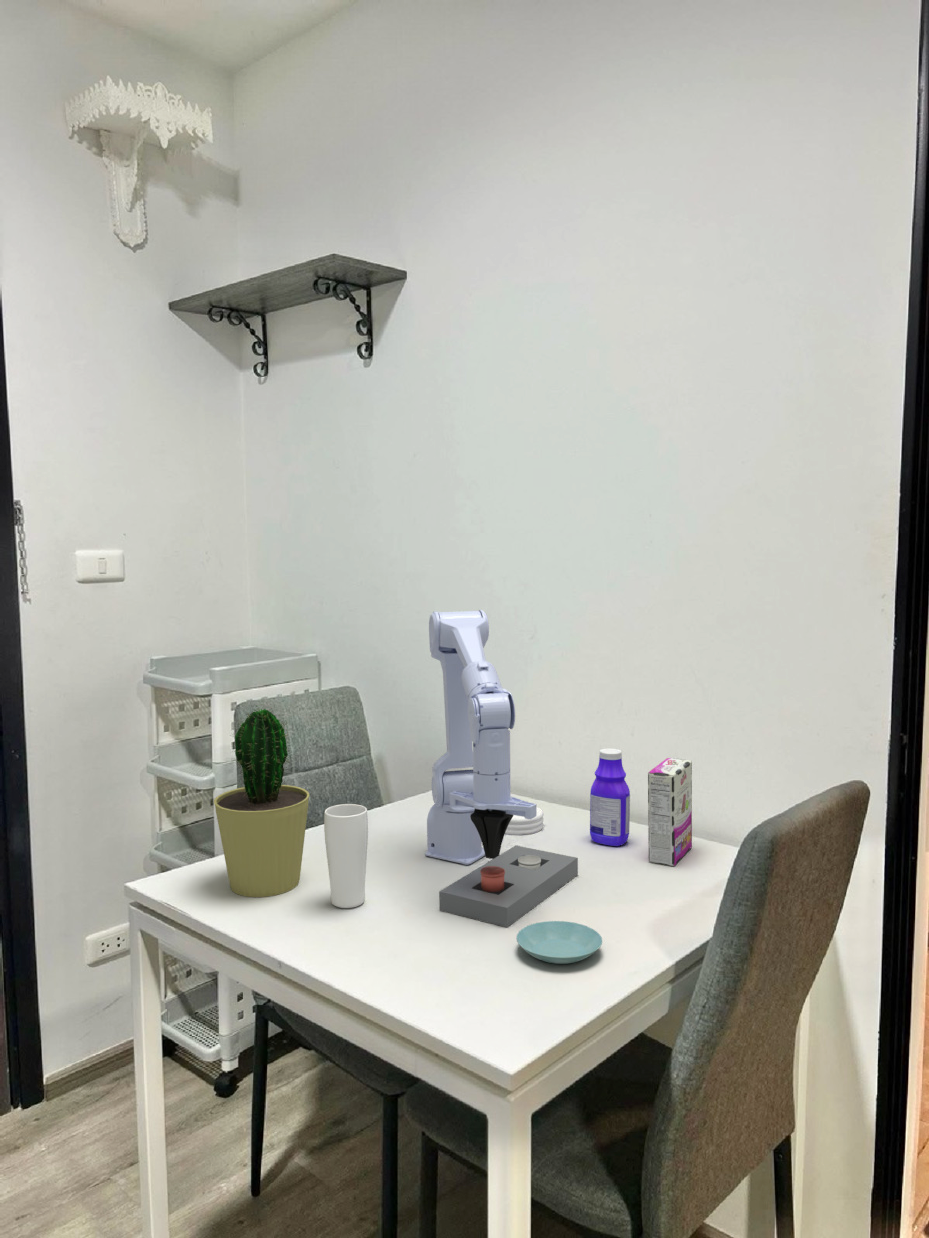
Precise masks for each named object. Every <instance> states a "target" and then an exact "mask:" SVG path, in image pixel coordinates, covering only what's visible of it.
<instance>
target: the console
mask: <svg viewBox="0 0 929 1238" xmlns="http://www.w3.org/2000/svg"><path fill="white" fill-rule="evenodd" d="M527 855H531V856H537V857H539V858H540V859H541V863H540V867H539V868H538V869H536V870H534V869H529V868H525V867H520V866H519V863H518V858H519V857H521V856H527ZM578 859H579V858H578V857H577V856H576V857H575V856H570V855H566V854H560V853H555V852H550V851H545V850H542V849H541V850H540V849H536V848H535V849H534V848H531V847H526V846H522V845H521V846H520V845H514V846H512V847H510V848H509V849H507V850H505V851H504V852H502V853H501V854H499V856H497V857H496V858H494V859H490V860H489V861H487V862H486V863H484V864H482V865H481V866H479V867H478V868H476V869H474V870H472V871H471V872H469V873H468V874H465V875H464V876H462V877H461V878H459V879H457V880H456V881H454V882H453V883H451V884H449V885H447V886H445V887H444V888H443V889H440V891H439V892H438V894H439V895H438V897H439V901H438V903H439V904H438V905H439V911H441V912H446V913H449V914H453V915H457V916H461V917H465V918H468V919H473V920H476V921H480V922H483V923H488V924H492V925H496V926H500V927H504V928H509V927H510V926H512V925H513V924H514V923H515V922H516V921H518V920H520V919H521V918H522V917H524V916H525V915H526V914H527V913H529V912H530V911H532V910H533V909H534V908H535V907H537V906H538V905H540V904H541V903H542V902H544V901H545V900H546V899H547V898H549V897H550V896H553V894H554V893H555V892H557V891H558V890H560V889H561V888H562V887H564V886H565V885H566V884H567V883H569V882H570V881H572V880H573V879H574V878H576V877H577V876H579V871H578V869H579V860H578ZM488 866H497V867H501V868H503V869H504V870H505V874H504V889H503V890H501V891H498V892H488V891H484V890H482V888H481V874H480V870H481V869H482V868H484V867H488Z"/></svg>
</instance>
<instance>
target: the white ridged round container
mask: <svg viewBox="0 0 929 1238" xmlns="http://www.w3.org/2000/svg"><path fill="white" fill-rule="evenodd" d="M543 828H544V811H543V810H542V809H541V808H540V807H538V806H537V816H536V817H534V818H532V819H525V817H522V816H517V815H513V817H512V819H511V821H510V823H509V825H508V827H507V829H506V832H505V834H504V835H511V836H512V835H513V836H525V835H533V834H536V833H538V832H540V831H541V830H543Z"/></svg>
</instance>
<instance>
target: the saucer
mask: <svg viewBox="0 0 929 1238" xmlns="http://www.w3.org/2000/svg"><path fill="white" fill-rule="evenodd" d="M516 942H517V943H518V945H519V946H520V947H521V949H523V950H524V952H526V953H528V954H529V955H530V956H532V957H533V958H535V959H537V960H540V961H542V962H544V963H545V962H546V963H548V964H554V965H556V964H557V965H568V964H573V963H578V962H581V961H583V960H586V959H587V958H588V957H590V956H592V955H593V954H594V953H595V952H597V951H598V950H599V948H600V947H601V946H602V945H603V938H602V936H601V934H600V933H599V932H598V931H597V930H596V929H594V928H591V927H590V926H588V925H584V924H582V923H577V922H572V921H563V920H549V921H540V922H535V923H532V924H529V925H526V926H525V927H523V928H521V929H520V930H519V931H518V933H517V934H516Z"/></svg>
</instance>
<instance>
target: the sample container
mask: <svg viewBox="0 0 929 1238" xmlns="http://www.w3.org/2000/svg"><path fill="white" fill-rule="evenodd" d="M518 863H519V866H520V867H525V868H529V869H534V870H536V869H538V868H539V867H540V863H541V859H540V858H539V857H537V856H531V855H527V856H521V857H519V858H518Z"/></svg>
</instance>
